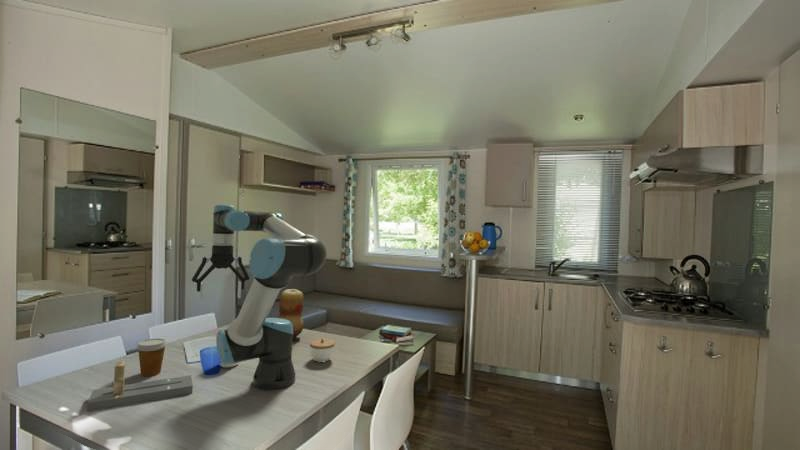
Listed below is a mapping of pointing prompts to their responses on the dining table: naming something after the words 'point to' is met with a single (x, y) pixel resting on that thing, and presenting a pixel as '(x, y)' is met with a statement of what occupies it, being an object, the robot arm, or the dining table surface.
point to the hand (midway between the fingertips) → (220, 298)
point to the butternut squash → (292, 309)
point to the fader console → (140, 392)
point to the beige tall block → (119, 377)
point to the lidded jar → (321, 349)
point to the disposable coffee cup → (151, 356)
